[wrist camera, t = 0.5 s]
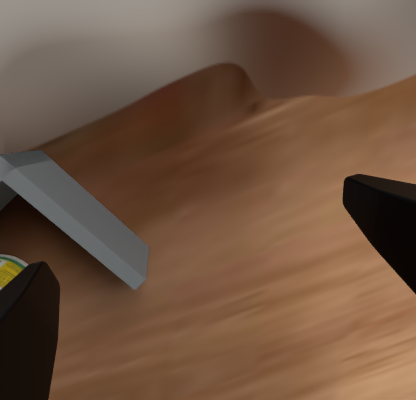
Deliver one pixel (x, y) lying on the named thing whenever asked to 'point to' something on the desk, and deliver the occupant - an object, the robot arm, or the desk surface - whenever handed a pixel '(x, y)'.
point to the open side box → (74, 213)
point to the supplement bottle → (9, 268)
